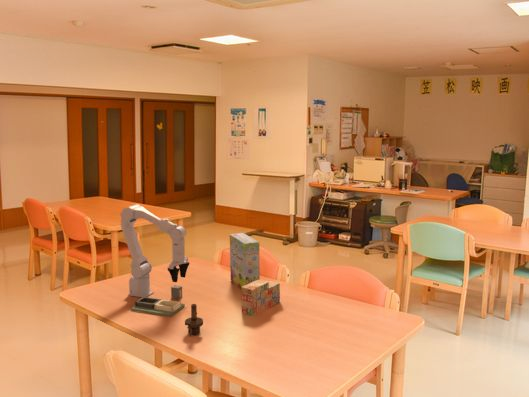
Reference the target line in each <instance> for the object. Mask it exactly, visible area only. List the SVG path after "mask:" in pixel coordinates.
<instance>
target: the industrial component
mask: <svg viewBox="0 0 529 397" xmlns="http://www.w3.org/2000/svg"><path fill="white" fill-rule="evenodd" d="M197 308H198V307H197V304H196V303H192V304H190V310H191V313H190V314H191V315H190V317H188V318H186V319H185V320H184V326H187V333H188V335H189V336H190V337H192V336H197V335H199V334H201V333H200V332H201V327H202V326H203V325H204V319H203V318H202V317H199V316H198V317H197V313H198V312H197Z"/></svg>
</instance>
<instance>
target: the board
mask: <svg viewBox="0 0 529 397" xmlns="http://www.w3.org/2000/svg"><path fill="white" fill-rule="evenodd" d="M134 303H135V304H134V305H133V307H130V311H132V312H138V313H139V312H140V313H145V314H150V315H151V314H152V315H156V316H163V317H172V316H173V315H174V314H177V312H179V311H180V310H181V309H183V308H185V306H186V304H185V303H182V301H181V302H180V301H176V300H168V299H163V298H162V299H161V298H154V297H148V296H147V297H140V299H137V300H136V301H135V302H134Z"/></svg>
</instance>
